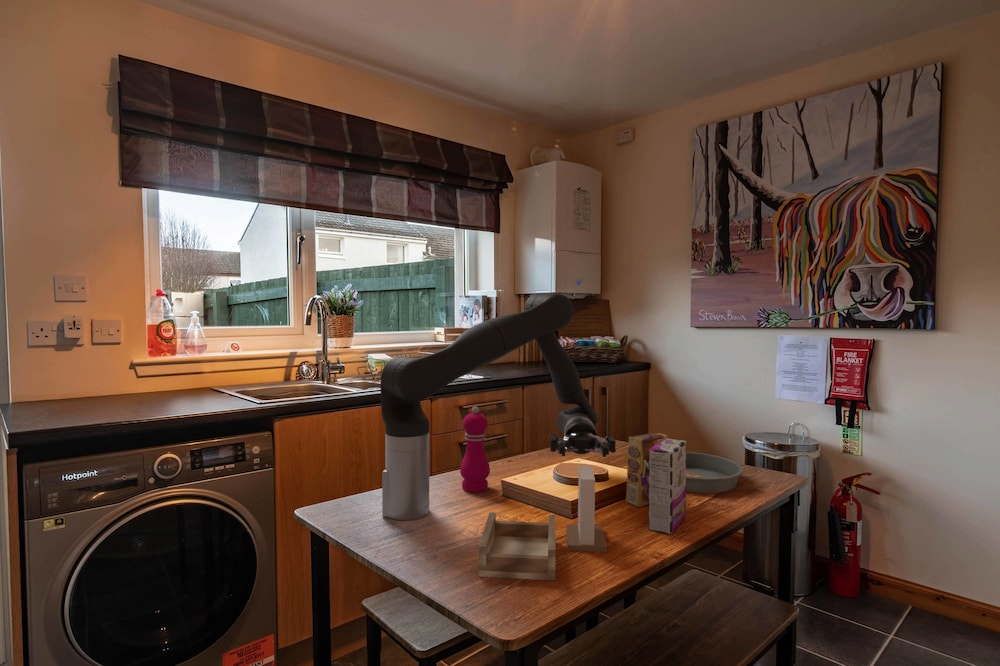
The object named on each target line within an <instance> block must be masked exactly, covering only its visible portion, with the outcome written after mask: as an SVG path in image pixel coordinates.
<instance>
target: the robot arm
mask: <svg viewBox="0 0 1000 666" xmlns="http://www.w3.org/2000/svg"><path fill="white" fill-rule="evenodd" d="M574 310H575V309H574V304H573V302H572V300H570V298H569V297H567V296H566V295H564V294H562V293H557V292H545V293H544V292H542V293H541V292H538V293H535V294H532V295H530V296H529V297H528V299H527V300H526V302H525V305H524V310H523V311H520V312H516V313H511V314H506V315H502V316H498V317H493V318H489V319H487V320H485V321H483V322H480V323H477V324H475V325H473V326H472V327H470V328H468V329H466V330H464V331H463V332H462V333H461V334H460V335H459V336H458V337H457V338H456V339H455V340H454V341H453V342H452V343H451V344H449V345H448V346H447V347H445V348H442V349H441V350H439V351H436V352H433V353H431V354H428V355H427V354H426V355H424V356H421V357H412V356H406V355H405V356H403V355H402V356H401V355H400V356H395V357H392V358H391V359H389V360H388V361H387V362H386V363H385V365H384V366H383V369H382V371H381V376H380V406H381V419H382V421H383V424H384V429H385V430H384V432H385V433H384V435H385V439H384V441H385V442H384V443H385V445H384V446H385V456H384V458H385V461H384V462H385V464H384V465H385V469H384V470H383V471H382V474H381V475H382V476H381V481H382V486H381V487H382V490H381V491H382V494H381V497H382V498H381V499H382V501H381V503H382V510H381V512H382V517H387V518H390V519H393V520H396V521H398V520H399V521H410V520H417V519H420V518H423V517H425V516H427V515H428V514H429V513H430V420H429V418H428V417H427V415H426V414H425V412H424V410H423V408H422V403H421V402H422V401H426V400H427V399H428V398H430V397H432V396H433V395H435V394H436V393H437V392H439V391H440V390H443V388H444V389H445V387H447V386H448V385H450V384H451V383H453V382H455V381H456V380H458V379H459V378H462V377H463V376H466V375H468V374H470V373H472V372H474V371H476V370H478V369H480V368H483V367H485V366H486V365H489V364H491V363H493V362H494V361H497V360H498V359H499V360H500V358H503V357H504V356H506V355H509V353H511V352H514V351H515V350H517V349H519V348H521V347H523V346H524V345H527V344H529V343H530V342H532V341H533V340H535V341H536V343H537V346H538V347H539V349H540V352H541V353H542V356H543V359H544V361H545V363H546V365H547V369H548V371H549V374H550V377H551V379H552V385H553V386H554V391H555V394H556V398H557V399H558V401H559V403H560V404H563V405H577V406H573V407H570V408H566V409H562V410H561V411H560V412H559V413H558V414H557V417H556V419H557V420H556V421H557V425H558V428H559V431H561V433H562V434H563V435H564V436H562V437H559V435H557V434H555V433H554V434H553V433H552V434H551V437H550V439H549V449H550V450H549V451H550V452H552V453H554V452H556V451H558V454H559V455H561V457H566V453H574V454H576V455H586V454H589V453H590V452H591V453H595V454H596V453H601V457H603V458H606V457H607V456H609V455H610V453H612V454H614V453H616V439H615V438H614V436H612V434H608V435H606V436H605V438H602V437H601V436H599V435H598V434H597V430H596V428H597V427H598V421H599V420H598V415H597V412H596V411H595V409H594V408H593V406H592V405H591V403H590V402H589V399H587V396H586V394H585V393H584V389H583V386H582V382H581V378H580V375H579V372H578V369H577V367H576V364H575V363H574V362H573V359H571V357H570V355H569V354H568V353H567V352H566V350H565V349H564V348H563V346H562V344H561V342H560V340H559V338H558V337H557V334H556V332H557V331H560V330H562V329H563V328H566V327H567V326H568V325H569V323H570V322H571V321H572V318H573V316H574Z"/></svg>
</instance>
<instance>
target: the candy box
mask: <svg viewBox="0 0 1000 666" xmlns="http://www.w3.org/2000/svg"><path fill="white" fill-rule="evenodd" d="M668 437H669V436H668V435H667V434H665V433H660V432H650V433H644V434H637V435H629V436H628V449H627V450H628V453H627V469H626V470H627V473H626V476H627V477H626V494H625V495H626V496H625V503H628V504H631V505H632V506H635V507H637V508H642V507H644V506H649V449H650V448H652V447H653V446H655V445H656V444H657V443H659V442H660V441H662V440H663V439H665V438H668Z"/></svg>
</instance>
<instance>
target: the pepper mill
mask: <svg viewBox="0 0 1000 666" xmlns="http://www.w3.org/2000/svg"><path fill="white" fill-rule="evenodd" d="M479 412H480V408H479V407H478V406H473V407H472V408H471V413H468V414H467V415H465V416H464V418H463V421H462V427H463V430H465V433H464V439H465V440H466V449H465V453H464V457H463V459H462V461H461V465H460V468H459V470H460V471H459V473H460V475H461V477H462V478H463V480H462V482H461V489H462V490H463V491H465V492H469V493H482V492H485V491H487V489H488V488H489V481H488V480H487V478H488V477H489V476H490V473H491V468H490V467H491V466H490V463H489V461H488V458H487V455H486V452H485V446H484V443H485V439H486V435H487V434H486V430H487V429H488V426H489V424H488V419H487V417H486V416H485V415H484V414H483V413H479Z"/></svg>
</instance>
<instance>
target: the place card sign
mask: <svg viewBox="0 0 1000 666" xmlns="http://www.w3.org/2000/svg"><path fill="white" fill-rule="evenodd" d="M577 489H578V493H577V494H578V496H577V497H578V498H577V500H578V501H577V503H578V504H577V506H578V507H577V524H572V523H571V524H568V523H567V524H565V525H566V526H565V527H566V530H565V531H566V545H567V551H570V552H571V551H573V552H591V553H592V552H596V553H608V545H607V541H606V537H605V536H606V535H605V533H604V532H605V531H604V528H603V525H595V516H596V515H595V513H596V512H595V511H596V510H595V507H596V505H595V504H596V479H595V474H594V470H593V466H592V465H578V487H577Z"/></svg>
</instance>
